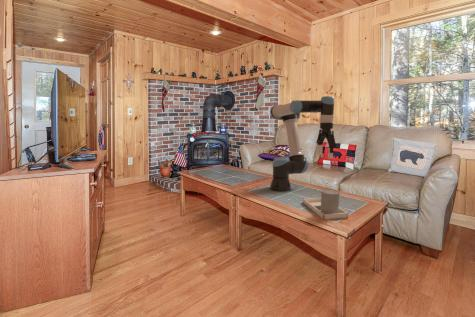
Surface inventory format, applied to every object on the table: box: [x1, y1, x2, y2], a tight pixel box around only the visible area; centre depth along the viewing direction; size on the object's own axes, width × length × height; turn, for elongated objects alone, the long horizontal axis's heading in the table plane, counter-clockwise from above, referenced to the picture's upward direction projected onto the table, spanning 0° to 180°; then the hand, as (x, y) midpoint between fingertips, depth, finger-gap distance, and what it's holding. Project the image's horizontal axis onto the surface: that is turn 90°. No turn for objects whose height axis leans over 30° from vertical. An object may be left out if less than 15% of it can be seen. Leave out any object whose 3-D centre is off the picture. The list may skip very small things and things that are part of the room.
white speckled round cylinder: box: [320, 188, 340, 214], centre depth 148 cm, size 10×10×12 cm
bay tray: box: [302, 197, 349, 220], centre depth 156 cm, size 27×14×2 cm, turn 9°
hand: (325, 156), depth 167 cm, fingers open, 13 cm apart
